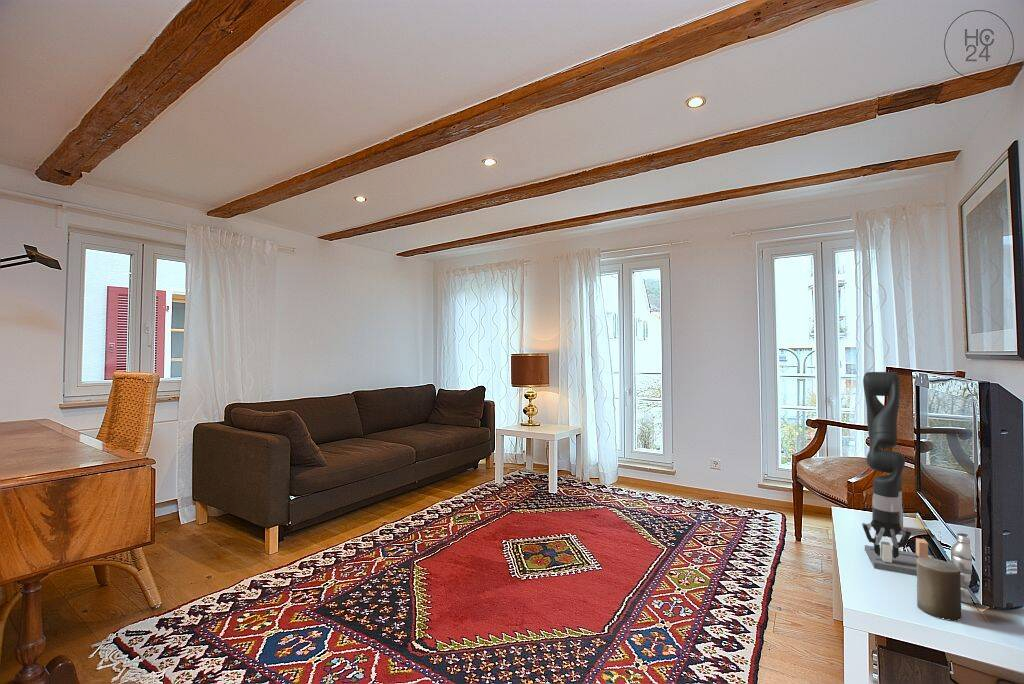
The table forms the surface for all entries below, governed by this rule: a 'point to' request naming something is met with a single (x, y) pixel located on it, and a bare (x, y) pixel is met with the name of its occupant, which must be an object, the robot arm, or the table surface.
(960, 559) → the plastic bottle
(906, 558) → the fader panel
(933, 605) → the pillar candle
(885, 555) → the cream fader
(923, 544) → the block
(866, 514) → the table surface
